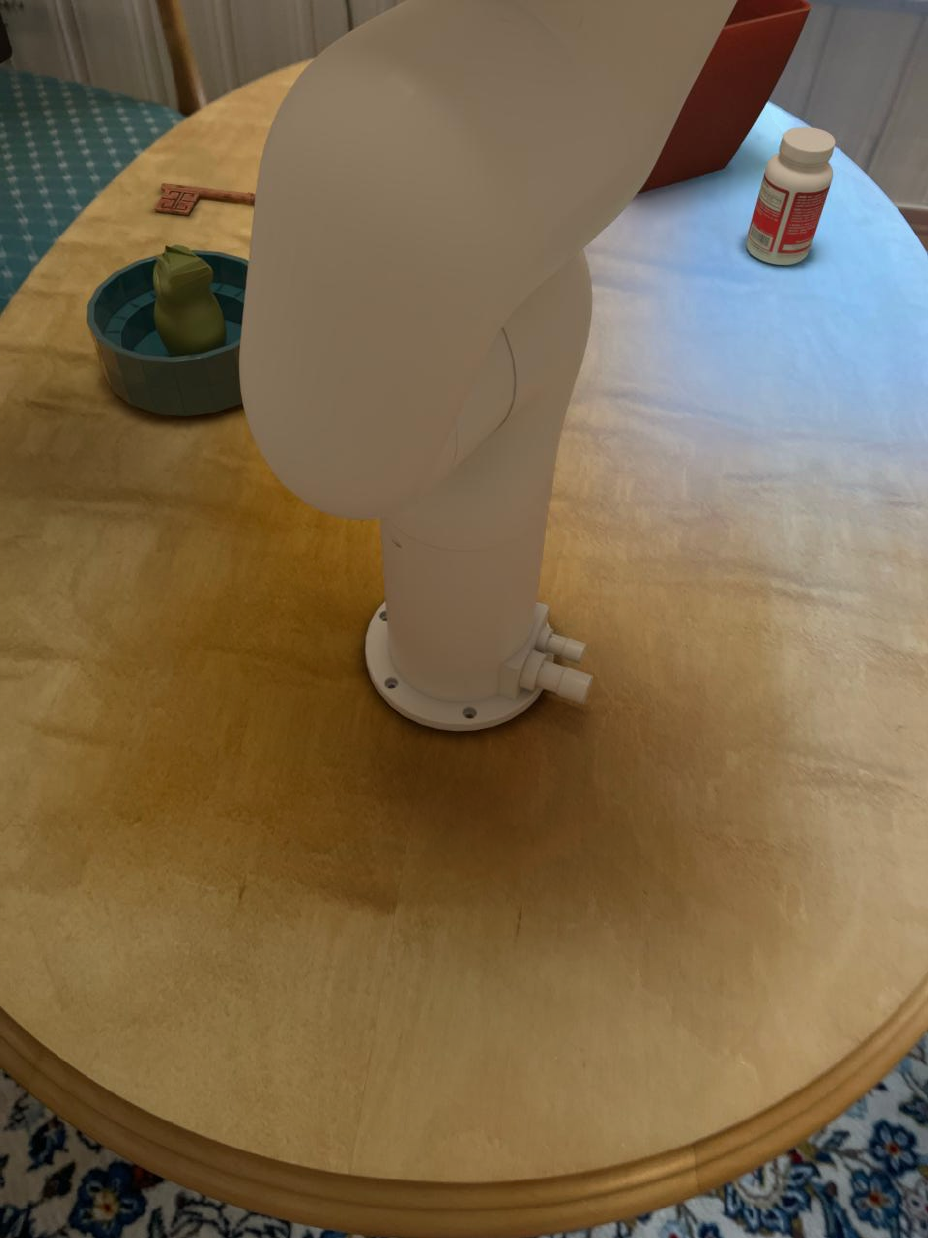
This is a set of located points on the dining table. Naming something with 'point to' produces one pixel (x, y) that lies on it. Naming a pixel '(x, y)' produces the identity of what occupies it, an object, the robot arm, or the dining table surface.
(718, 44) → the flower pot
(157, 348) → the bowl
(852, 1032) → the dining table surface
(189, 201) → the key
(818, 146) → the pill bottle
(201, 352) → the pear
